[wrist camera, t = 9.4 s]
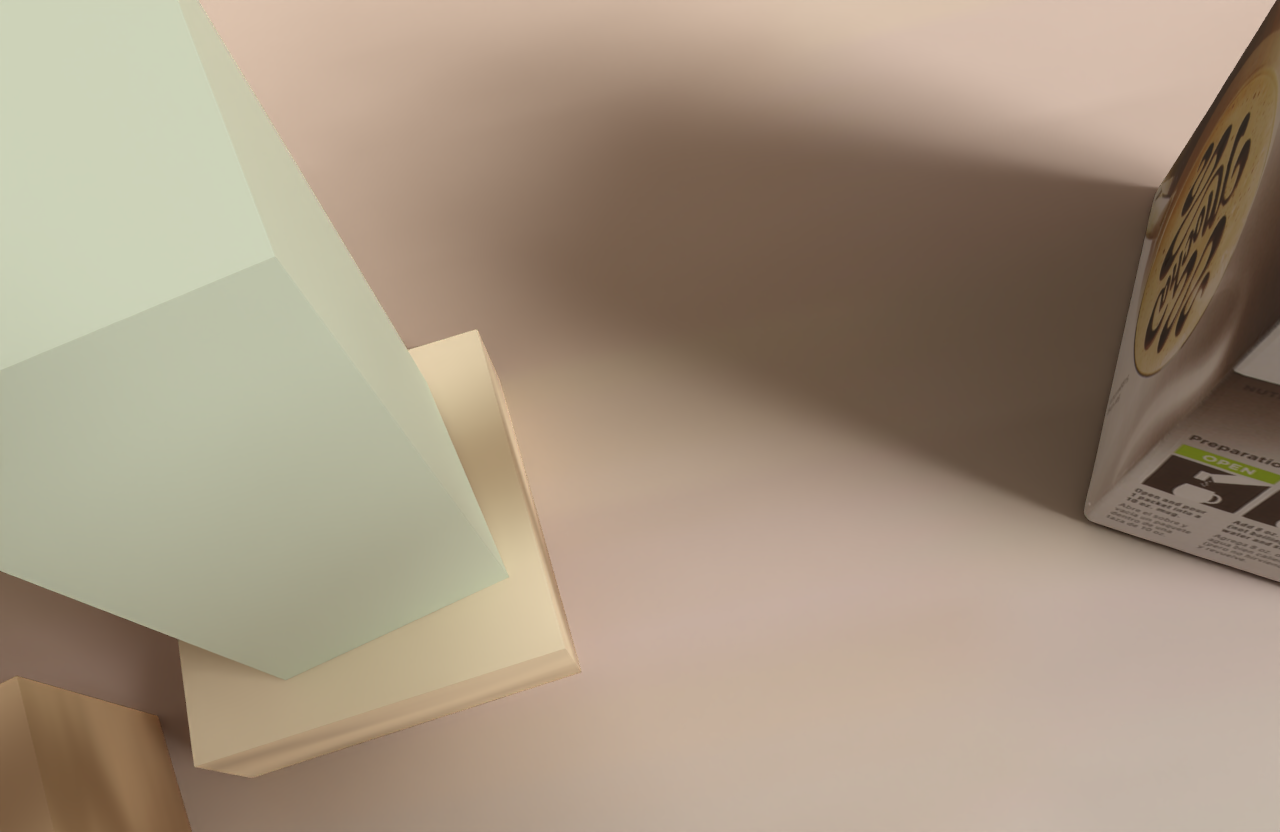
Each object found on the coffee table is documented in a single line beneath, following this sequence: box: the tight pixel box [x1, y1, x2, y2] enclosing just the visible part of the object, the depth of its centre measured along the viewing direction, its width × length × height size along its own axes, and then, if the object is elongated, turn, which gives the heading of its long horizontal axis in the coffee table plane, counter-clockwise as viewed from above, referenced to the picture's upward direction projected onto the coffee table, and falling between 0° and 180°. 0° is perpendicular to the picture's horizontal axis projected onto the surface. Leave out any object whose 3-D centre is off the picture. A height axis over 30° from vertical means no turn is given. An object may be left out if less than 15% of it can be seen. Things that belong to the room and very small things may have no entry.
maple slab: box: [178, 329, 581, 778], centre depth 22 cm, size 7×7×3 cm
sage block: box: [0, 0, 509, 680], centre depth 15 cm, size 4×4×12 cm
